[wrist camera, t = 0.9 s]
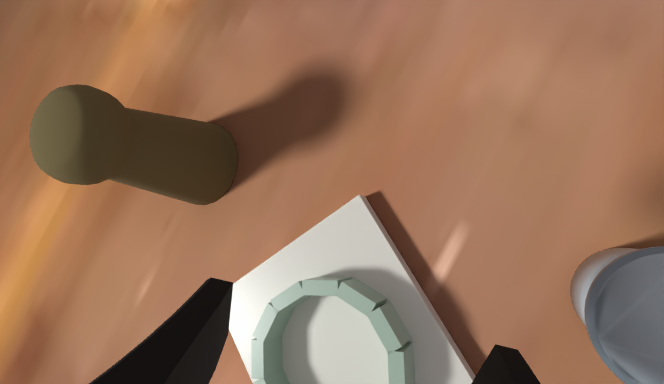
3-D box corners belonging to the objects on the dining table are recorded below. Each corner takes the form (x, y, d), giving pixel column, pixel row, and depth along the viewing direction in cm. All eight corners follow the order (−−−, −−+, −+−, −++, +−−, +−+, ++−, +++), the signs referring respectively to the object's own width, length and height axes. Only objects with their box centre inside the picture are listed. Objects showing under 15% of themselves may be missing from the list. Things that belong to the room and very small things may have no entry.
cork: (209, 106, 30) (58, 42, 20) (252, 164, 28) (107, 125, 18) (161, 163, 32) (-3, 129, 22) (198, 222, 30) (36, 215, 20)
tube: (720, 318, 17) (834, 366, 11) (610, 368, 19) (657, 435, 13) (639, 223, 19) (700, 216, 13) (543, 276, 20) (554, 293, 14)
